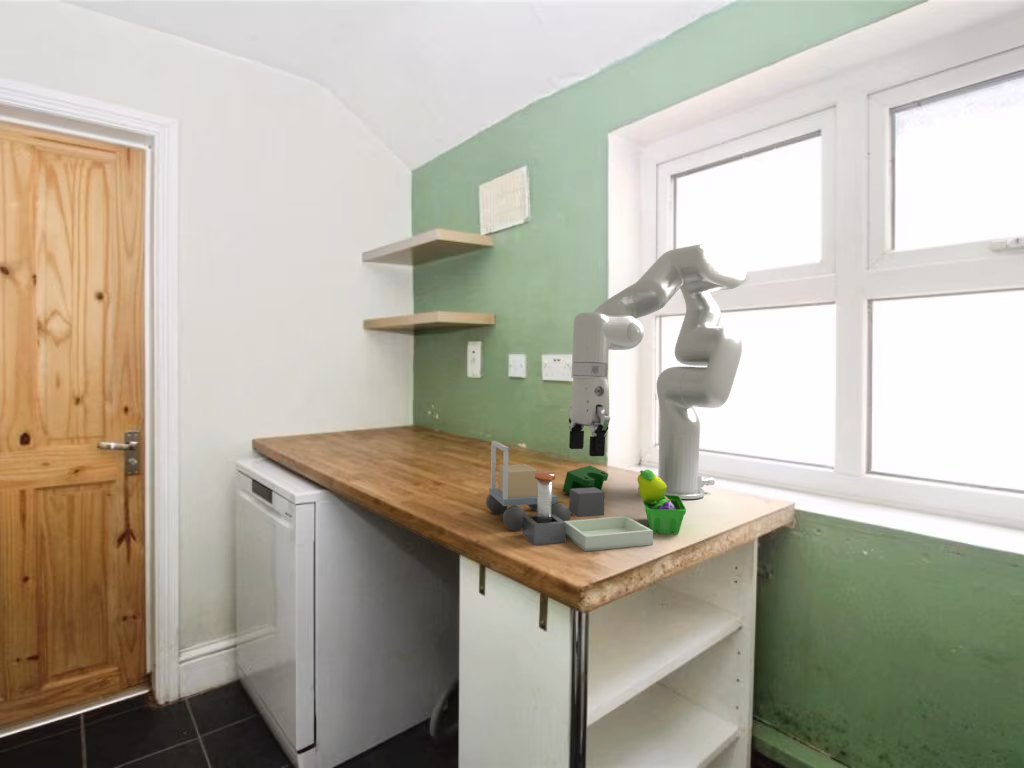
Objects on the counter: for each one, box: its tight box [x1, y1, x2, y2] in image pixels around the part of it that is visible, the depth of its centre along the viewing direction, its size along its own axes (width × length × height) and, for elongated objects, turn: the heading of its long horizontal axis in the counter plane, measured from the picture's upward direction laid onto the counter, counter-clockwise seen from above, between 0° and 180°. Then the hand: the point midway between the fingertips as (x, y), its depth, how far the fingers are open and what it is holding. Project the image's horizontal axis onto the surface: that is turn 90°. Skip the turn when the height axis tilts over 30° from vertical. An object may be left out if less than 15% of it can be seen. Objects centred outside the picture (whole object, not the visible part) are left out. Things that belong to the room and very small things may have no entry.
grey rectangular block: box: [568, 487, 606, 518], centre depth 113 cm, size 6×4×5 cm
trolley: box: [485, 440, 572, 532], centre depth 108 cm, size 13×14×16 cm
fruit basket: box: [637, 469, 687, 535], centre depth 105 cm, size 11×9×11 cm
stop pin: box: [535, 470, 556, 523], centre depth 96 cm, size 4×4×12 cm
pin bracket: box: [522, 514, 567, 546], centre depth 96 cm, size 6×6×4 cm
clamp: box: [562, 465, 609, 496], centre depth 131 cm, size 12×6×9 cm, turn 135°
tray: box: [564, 515, 654, 552], centre depth 96 cm, size 13×9×2 cm
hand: (586, 452), depth 112 cm, fingers open, 9 cm apart
